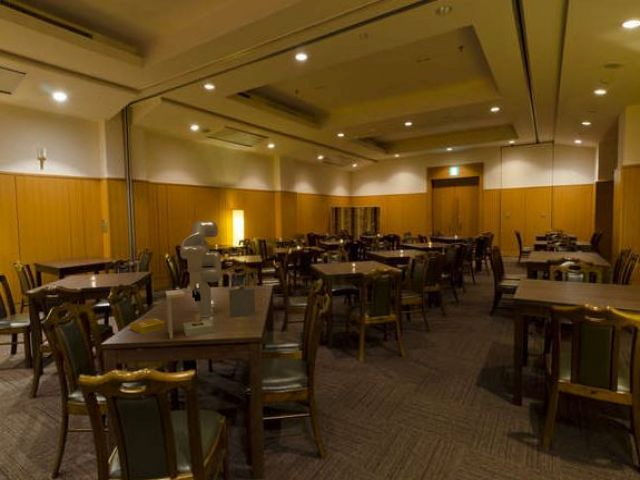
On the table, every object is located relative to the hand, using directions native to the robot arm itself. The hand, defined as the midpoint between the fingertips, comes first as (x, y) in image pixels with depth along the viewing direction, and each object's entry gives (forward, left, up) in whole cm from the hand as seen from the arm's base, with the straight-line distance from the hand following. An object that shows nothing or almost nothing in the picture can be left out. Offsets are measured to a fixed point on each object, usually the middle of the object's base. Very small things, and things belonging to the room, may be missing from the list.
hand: (196, 299), depth 216 cm
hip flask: (-20, +31, -18) cm, 41 cm away
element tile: (-21, -26, -19) cm, 38 cm away
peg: (+1, 0, -18) cm, 18 cm away
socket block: (+1, -4, -18) cm, 19 cm away
